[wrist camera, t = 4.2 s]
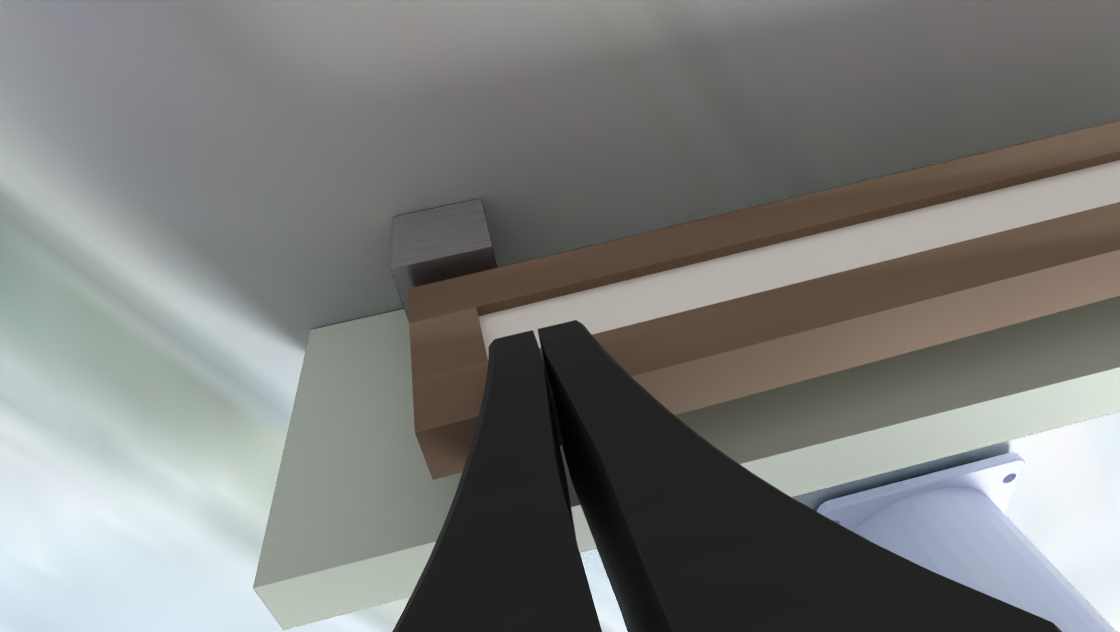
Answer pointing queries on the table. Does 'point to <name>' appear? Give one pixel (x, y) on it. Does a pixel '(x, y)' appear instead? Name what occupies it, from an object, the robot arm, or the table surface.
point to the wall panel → (732, 427)
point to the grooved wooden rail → (791, 283)
